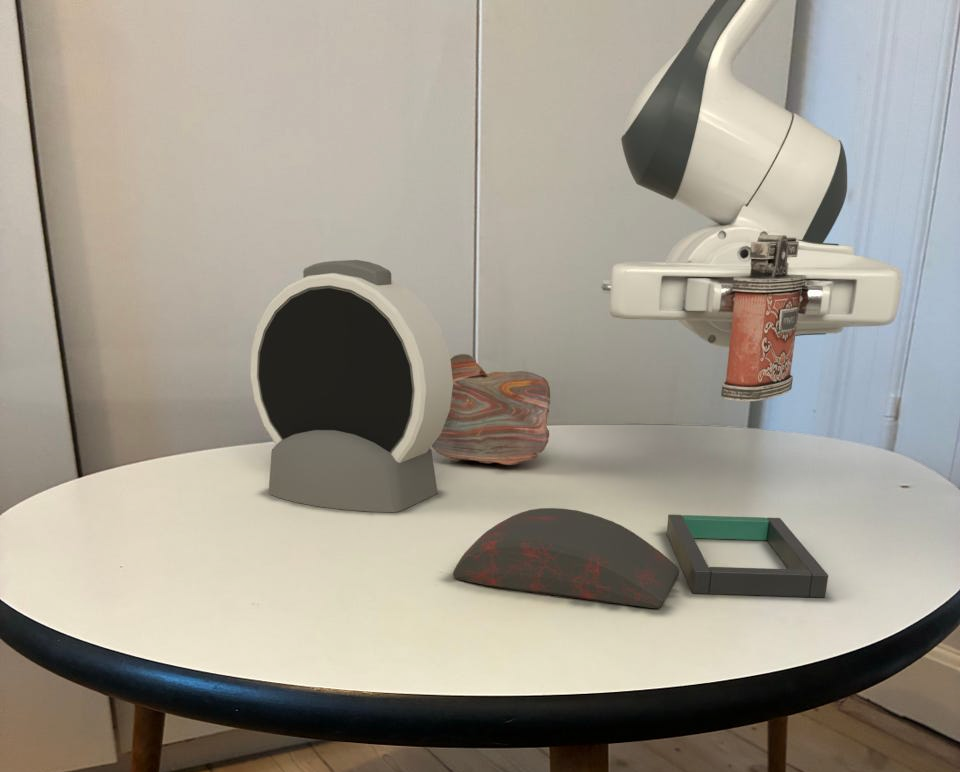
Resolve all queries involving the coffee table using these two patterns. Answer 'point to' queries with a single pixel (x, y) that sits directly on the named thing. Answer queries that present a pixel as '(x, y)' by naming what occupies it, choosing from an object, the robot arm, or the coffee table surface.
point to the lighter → (764, 323)
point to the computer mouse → (569, 559)
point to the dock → (794, 581)
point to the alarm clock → (351, 389)
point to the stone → (494, 415)
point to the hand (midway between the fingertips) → (771, 300)
